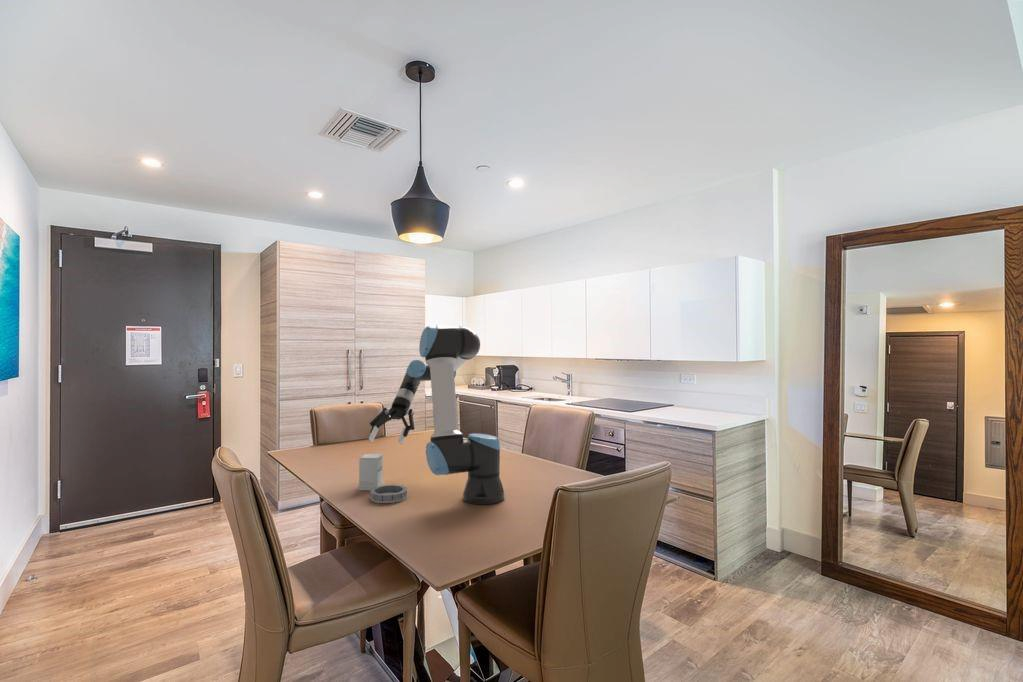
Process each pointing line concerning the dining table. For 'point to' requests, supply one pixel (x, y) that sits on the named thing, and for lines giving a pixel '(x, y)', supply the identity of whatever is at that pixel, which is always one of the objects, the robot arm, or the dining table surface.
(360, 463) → the supplement box
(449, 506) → the dining table surface
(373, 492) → the round holder
